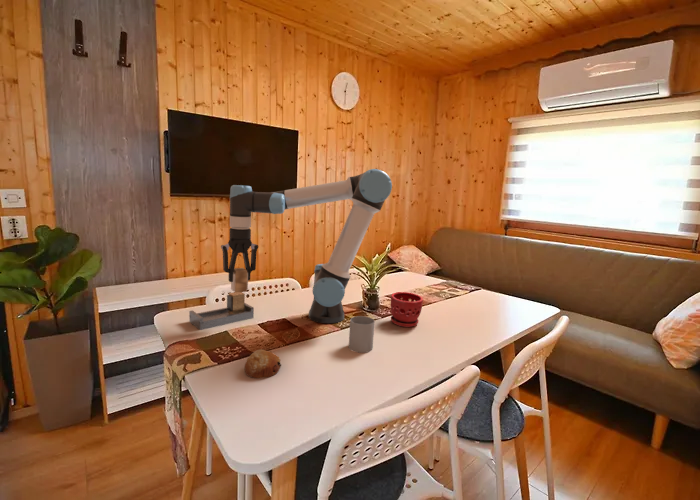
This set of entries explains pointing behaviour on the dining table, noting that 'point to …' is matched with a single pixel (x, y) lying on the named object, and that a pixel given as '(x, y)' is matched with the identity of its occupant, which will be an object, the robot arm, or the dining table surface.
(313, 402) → the dining table surface
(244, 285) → the block
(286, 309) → the dining table surface
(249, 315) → the grey tray
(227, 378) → the dining table surface
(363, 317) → the cup
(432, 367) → the dining table surface
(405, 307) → the plant pot
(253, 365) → the bread roll
